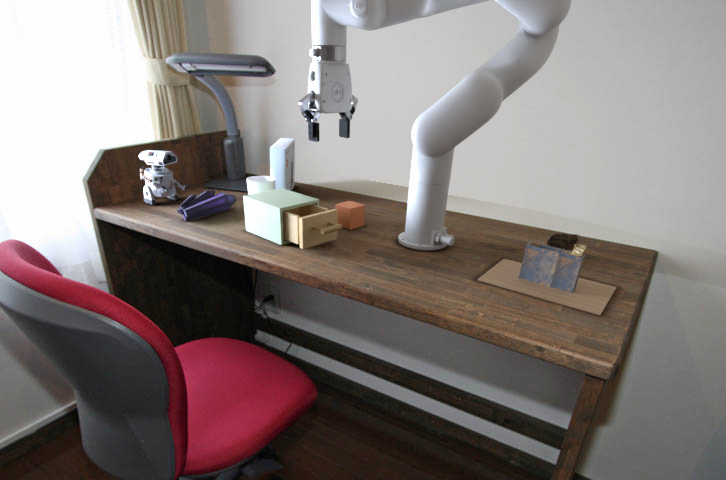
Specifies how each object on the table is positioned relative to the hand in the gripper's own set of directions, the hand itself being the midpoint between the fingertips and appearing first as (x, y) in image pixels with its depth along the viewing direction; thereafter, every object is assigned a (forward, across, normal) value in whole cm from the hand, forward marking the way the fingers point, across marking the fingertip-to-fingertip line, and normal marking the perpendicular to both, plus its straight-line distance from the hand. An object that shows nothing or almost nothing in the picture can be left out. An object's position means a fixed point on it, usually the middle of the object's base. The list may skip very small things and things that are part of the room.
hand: (329, 139), depth 112 cm
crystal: (+23, -15, +34) cm, 44 cm away
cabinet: (+23, -9, +8) cm, 26 cm away
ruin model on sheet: (+24, +14, -53) cm, 60 cm away
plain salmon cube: (+23, +9, +2) cm, 25 cm away
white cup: (+23, -4, +24) cm, 34 cm away
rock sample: (+24, +37, -47) cm, 65 cm away
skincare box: (+23, +15, +40) cm, 49 cm away
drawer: (+22, -9, -2) cm, 24 cm away
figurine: (+23, -20, +52) cm, 60 cm away
